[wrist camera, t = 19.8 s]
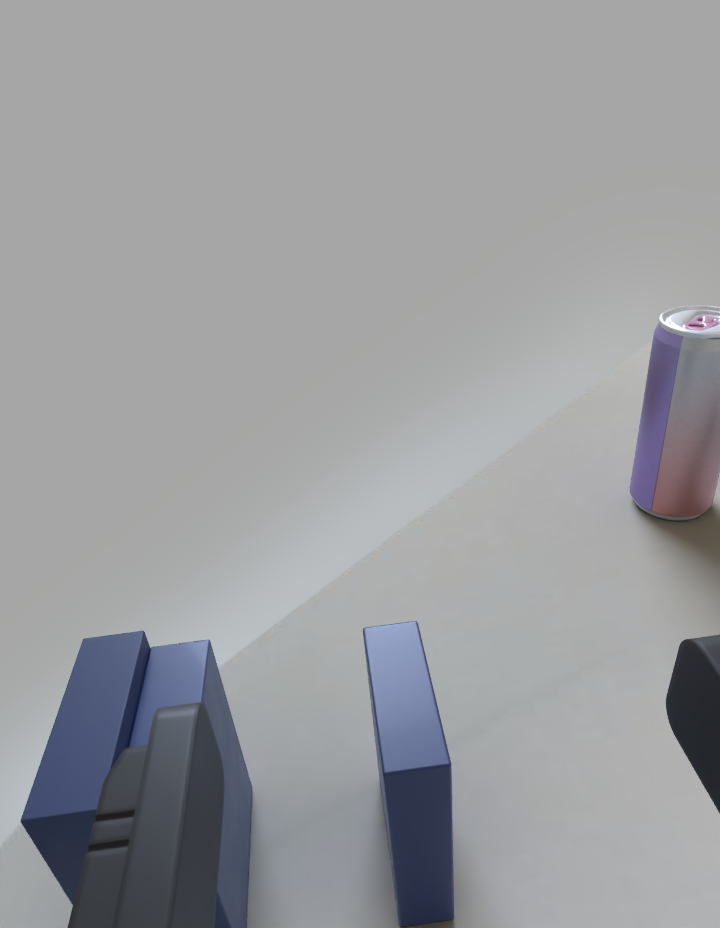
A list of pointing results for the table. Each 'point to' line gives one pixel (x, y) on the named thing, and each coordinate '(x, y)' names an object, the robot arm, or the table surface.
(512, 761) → the table surface
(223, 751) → the navy books
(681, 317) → the beverage can
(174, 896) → the robot arm
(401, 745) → the navy book
